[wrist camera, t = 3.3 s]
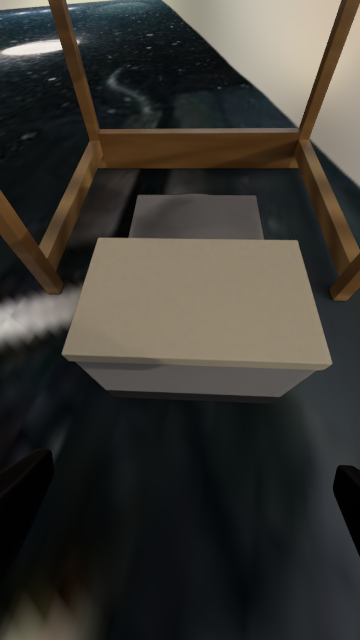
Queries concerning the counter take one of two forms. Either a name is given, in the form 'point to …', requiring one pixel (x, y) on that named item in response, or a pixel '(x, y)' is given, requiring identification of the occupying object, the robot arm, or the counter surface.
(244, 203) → the grey lidded shoebox
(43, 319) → the counter surface
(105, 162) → the shoe rack
